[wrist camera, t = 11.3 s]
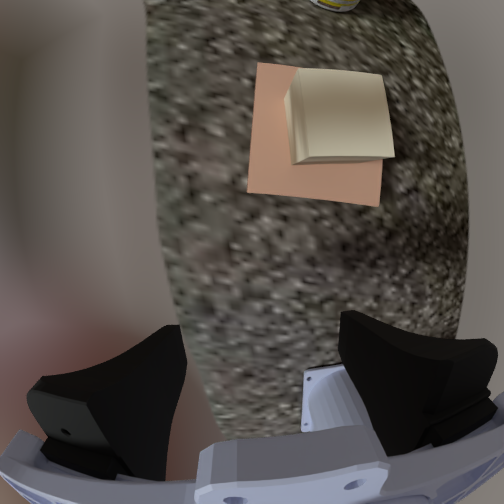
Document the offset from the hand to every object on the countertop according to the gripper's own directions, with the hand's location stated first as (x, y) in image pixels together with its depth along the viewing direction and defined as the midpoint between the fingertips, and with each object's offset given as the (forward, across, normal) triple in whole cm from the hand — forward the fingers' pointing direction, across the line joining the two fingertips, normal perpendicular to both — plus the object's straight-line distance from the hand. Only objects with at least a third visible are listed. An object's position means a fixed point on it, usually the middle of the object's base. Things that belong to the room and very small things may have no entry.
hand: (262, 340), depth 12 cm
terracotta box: (+11, -5, -10) cm, 16 cm away
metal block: (+7, -5, -10) cm, 13 cm away
